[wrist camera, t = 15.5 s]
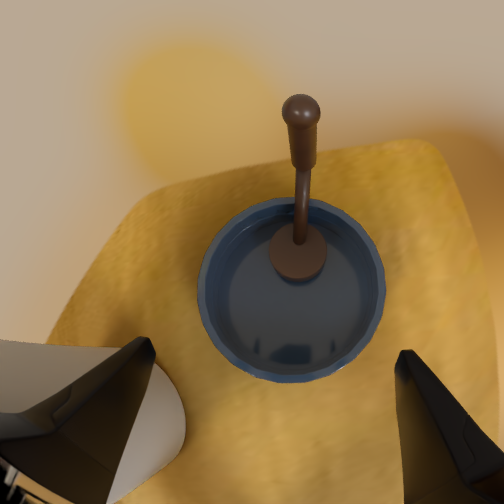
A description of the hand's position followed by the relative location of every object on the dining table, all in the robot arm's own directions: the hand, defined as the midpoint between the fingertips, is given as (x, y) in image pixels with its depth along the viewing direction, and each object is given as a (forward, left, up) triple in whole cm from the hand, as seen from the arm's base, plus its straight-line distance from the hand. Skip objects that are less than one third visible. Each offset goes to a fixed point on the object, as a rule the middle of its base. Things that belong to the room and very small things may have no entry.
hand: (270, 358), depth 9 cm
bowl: (+4, +1, -14) cm, 14 cm away
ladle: (+9, +1, -12) cm, 15 cm away
